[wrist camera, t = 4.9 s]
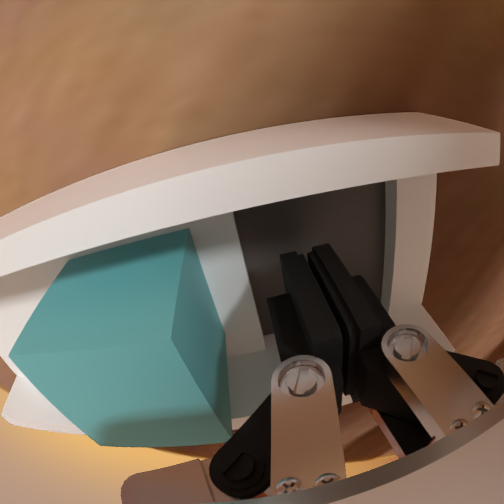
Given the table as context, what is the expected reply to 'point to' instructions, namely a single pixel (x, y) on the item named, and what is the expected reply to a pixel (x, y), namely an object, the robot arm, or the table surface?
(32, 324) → the teal block
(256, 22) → the table surface
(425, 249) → the trap channel
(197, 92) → the table surface
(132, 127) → the table surface
